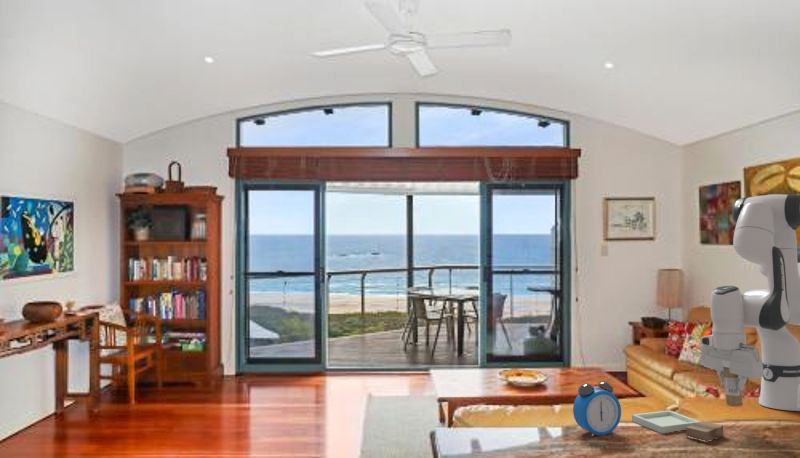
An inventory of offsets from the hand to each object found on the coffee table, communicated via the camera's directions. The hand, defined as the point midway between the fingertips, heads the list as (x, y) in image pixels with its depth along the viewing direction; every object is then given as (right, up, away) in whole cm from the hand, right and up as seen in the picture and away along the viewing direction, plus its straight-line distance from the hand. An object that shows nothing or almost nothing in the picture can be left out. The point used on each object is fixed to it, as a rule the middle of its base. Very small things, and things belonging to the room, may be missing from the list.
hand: (732, 387), depth 181 cm
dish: (-17, -13, +7) cm, 23 cm away
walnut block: (-11, -13, -6) cm, 18 cm away
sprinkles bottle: (0, -5, 0) cm, 5 cm away
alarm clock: (-40, -14, +1) cm, 42 cm away
